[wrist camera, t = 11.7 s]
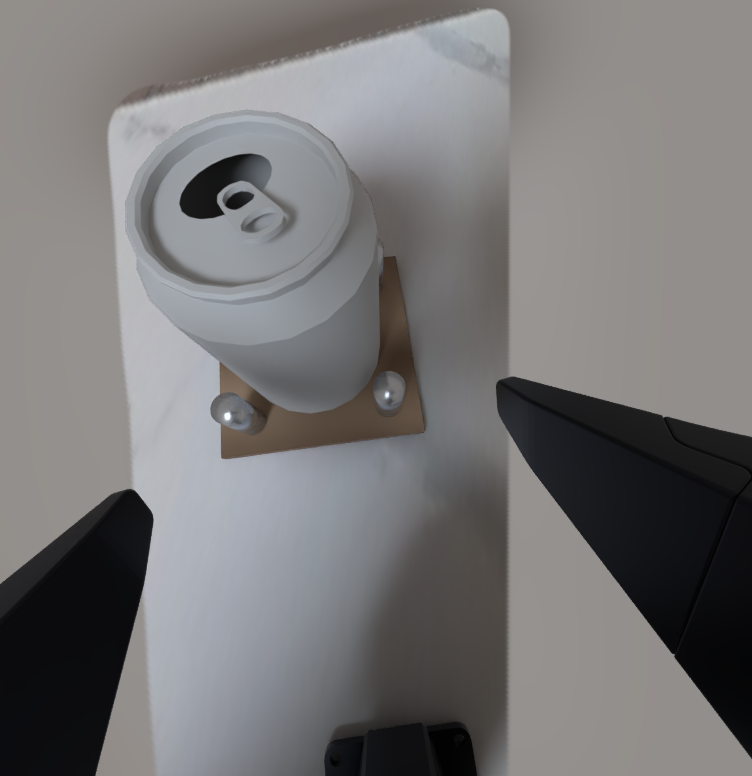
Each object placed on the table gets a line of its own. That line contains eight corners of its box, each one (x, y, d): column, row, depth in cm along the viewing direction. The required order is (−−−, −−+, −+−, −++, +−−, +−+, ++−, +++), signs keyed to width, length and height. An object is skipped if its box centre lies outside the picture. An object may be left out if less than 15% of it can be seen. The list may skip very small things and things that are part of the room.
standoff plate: (423, 432, 21) (433, 418, 17) (225, 459, 20) (188, 451, 16) (395, 261, 24) (397, 215, 20) (222, 283, 23) (189, 241, 19)
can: (330, 272, 23) (276, 47, 11) (406, 364, 21) (435, 208, 10) (226, 342, 22) (46, 171, 10) (297, 444, 20) (181, 379, 8)
